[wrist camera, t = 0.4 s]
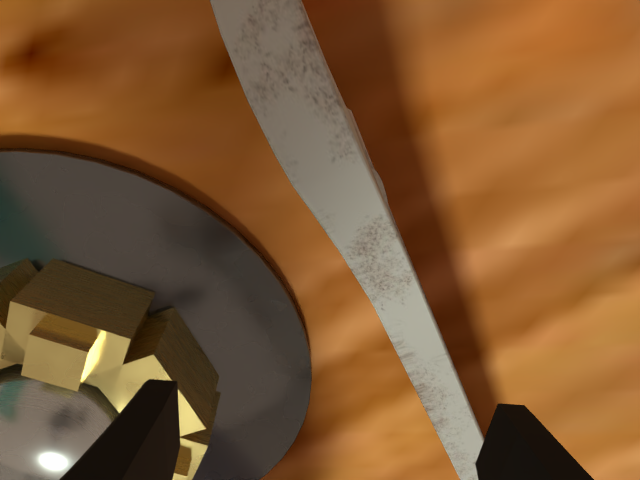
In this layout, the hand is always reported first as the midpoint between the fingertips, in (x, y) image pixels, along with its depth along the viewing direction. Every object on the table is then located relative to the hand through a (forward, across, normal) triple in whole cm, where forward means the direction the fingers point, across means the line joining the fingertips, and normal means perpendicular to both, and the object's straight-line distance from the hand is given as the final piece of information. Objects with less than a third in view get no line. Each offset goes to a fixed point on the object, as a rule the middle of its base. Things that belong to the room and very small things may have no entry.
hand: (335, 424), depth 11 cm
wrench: (+10, -4, +4) cm, 12 cm away
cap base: (+10, +11, +9) cm, 17 cm away
